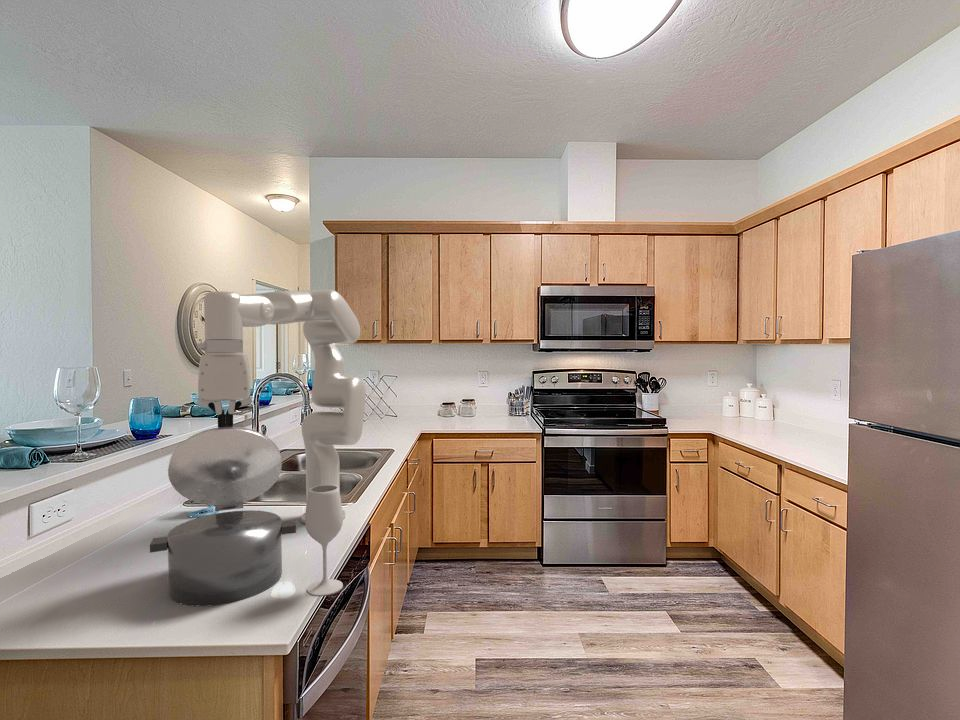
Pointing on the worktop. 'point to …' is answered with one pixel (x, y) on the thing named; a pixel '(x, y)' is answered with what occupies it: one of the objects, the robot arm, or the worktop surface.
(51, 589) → the worktop surface
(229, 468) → the lid
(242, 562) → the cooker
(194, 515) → the light blue angular piece
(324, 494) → the wineglass
